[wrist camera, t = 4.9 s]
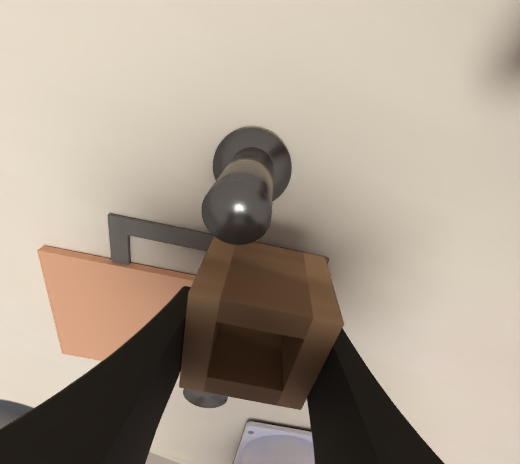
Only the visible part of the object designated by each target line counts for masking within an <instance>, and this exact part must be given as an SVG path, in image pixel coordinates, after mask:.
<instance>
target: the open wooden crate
mask: <svg viewBox="0 0 520 464" xmlns="http://www.w3.org/2000/svg"><path fill="white" fill-rule="evenodd" d="M343 325H344V322H343V319H342V315H341V312H340V308H339V305H338V301H337V298H336V294H335V291H334V287H333V284H332V280H331V277H330V273H329V270H328V266H327V262H326V259H325V257H323V256H318V255H313V254H309V253H304V252H299V251H294V250H290V249H285V248H280V247H275V246H270V245H266V244H261V243H256V242H252V243H249V244H245V245H233V244H228V243H225V242H223V241H221V240H219V239H218V238H216V237H215V236H214V238H213V240H212V242H211V244H210V246H209V249H208V251H207V253H206V255H205V257H204V260H203V262H202V264H201V266H200V268H199V270H198V273H197V275H196V277H195V279H194V281H193V284H192V286H191V288H190V290H189V292H188V300H187V311H186V321H185V332H184V342H183V353H182V363H181V373H180V384H179V387H180V388H186V389H191V390H197V391H202V392H207V393H213V394H218V395H224V396H229V397H234V398H240V399H245V400H250V401H256V402H261V403H267V404H272V405H277V406H283V407H288V408H294V409H299V410H301V409H302V407H303V405H304V403H305V401H306V399H307V397H308V395H309V393H310V391H311V389H312V387H313V385H314V383H315V381H316V379H317V377H318V375H319V373H320V371H321V369H322V367H323V365H324V363H325V361H326V359H327V357H328V355H329V353H330V351H331V349H332V347H333V345H334V343H335V341H336V339H337V337H338V335H339V333H340V331H341V329H342V327H343Z"/></svg>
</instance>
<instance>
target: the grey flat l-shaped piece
mask: <svg viewBox="0 0 520 464" xmlns="http://www.w3.org/2000/svg"><path fill="white" fill-rule="evenodd" d="M108 226H109V237H110V249H111V261H113V262H118V263H123V264H128V265H129V264H130V239H129V235H130V236H135V237H140V238H145V239H150V240H154V241H159V242H164V243H169V244H174V245H179V246H184V247H189V248H194V249H199V250H204V251H208V249H209V246H210V244H211V242H212V240H213V238H214V235H212V234H209V233H204V232H199V231H194V230H189V229H184V228H179V227H174V226H169V225H164V224H159V223H155V222H150V221H145V220H140V219H135V218H130V217H125V216H120V215H115V214H108ZM325 259H326V262H327V264H328V261H329V258H326V257H325Z"/></svg>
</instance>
